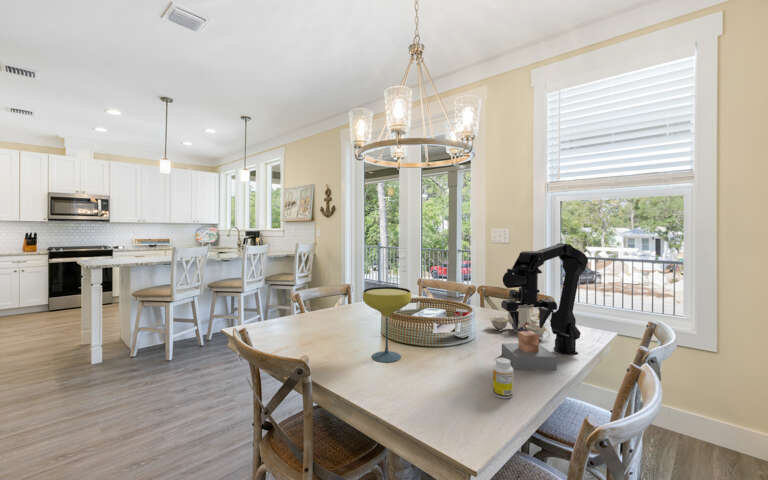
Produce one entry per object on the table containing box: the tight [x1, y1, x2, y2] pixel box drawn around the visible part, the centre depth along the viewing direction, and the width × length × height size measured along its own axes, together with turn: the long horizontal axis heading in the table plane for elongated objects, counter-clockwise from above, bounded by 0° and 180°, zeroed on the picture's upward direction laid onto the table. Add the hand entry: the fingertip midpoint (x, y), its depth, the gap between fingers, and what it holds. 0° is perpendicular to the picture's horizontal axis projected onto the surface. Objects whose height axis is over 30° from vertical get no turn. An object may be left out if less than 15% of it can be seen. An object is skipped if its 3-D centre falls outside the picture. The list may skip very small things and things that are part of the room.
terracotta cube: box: [518, 331, 540, 353], centre depth 125 cm, size 5×5×6 cm
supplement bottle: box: [492, 357, 514, 400], centre depth 101 cm, size 6×6×10 cm
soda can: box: [453, 308, 470, 318], centre depth 155 cm, size 7×7×12 cm
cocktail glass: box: [362, 286, 412, 363], centre depth 130 cm, size 18×18×25 cm
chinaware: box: [489, 307, 551, 340], centre depth 161 cm, size 28×17×17 cm, turn 49°
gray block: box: [501, 342, 558, 371], centre depth 126 cm, size 14×14×5 cm
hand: (528, 328), depth 128 cm, fingers open, 9 cm apart
